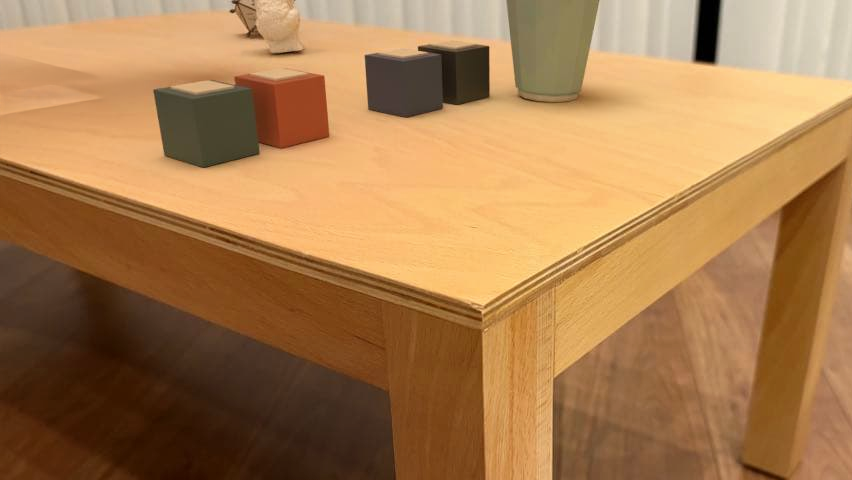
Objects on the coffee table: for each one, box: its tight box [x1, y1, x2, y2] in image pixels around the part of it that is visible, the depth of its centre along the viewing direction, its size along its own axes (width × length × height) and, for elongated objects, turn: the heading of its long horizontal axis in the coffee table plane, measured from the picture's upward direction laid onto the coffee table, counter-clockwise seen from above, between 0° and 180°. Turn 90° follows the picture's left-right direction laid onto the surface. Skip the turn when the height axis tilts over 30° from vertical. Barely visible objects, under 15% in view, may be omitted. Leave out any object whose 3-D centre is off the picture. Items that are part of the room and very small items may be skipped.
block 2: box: [233, 67, 330, 149], centre depth 70 cm, size 5×5×5 cm
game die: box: [228, 0, 296, 39], centre depth 119 cm, size 9×8×10 cm
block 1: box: [152, 79, 261, 168], centre depth 65 cm, size 5×5×5 cm
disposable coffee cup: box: [505, 0, 601, 103], centre depth 85 cm, size 11×11×15 cm
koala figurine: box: [254, 0, 306, 54], centre depth 106 cm, size 8×7×12 cm
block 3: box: [364, 48, 444, 118], centre depth 80 cm, size 5×5×5 cm
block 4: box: [417, 40, 491, 106], centre depth 85 cm, size 5×5×5 cm
